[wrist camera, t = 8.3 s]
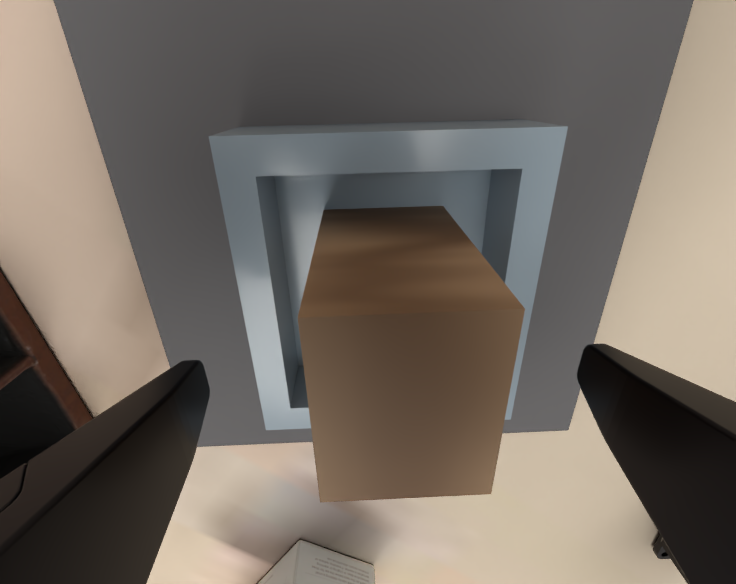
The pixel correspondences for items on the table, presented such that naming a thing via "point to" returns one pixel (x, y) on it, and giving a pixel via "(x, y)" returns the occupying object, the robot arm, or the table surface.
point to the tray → (373, 190)
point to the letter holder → (30, 389)
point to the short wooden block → (405, 355)
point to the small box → (318, 567)
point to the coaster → (367, 105)
